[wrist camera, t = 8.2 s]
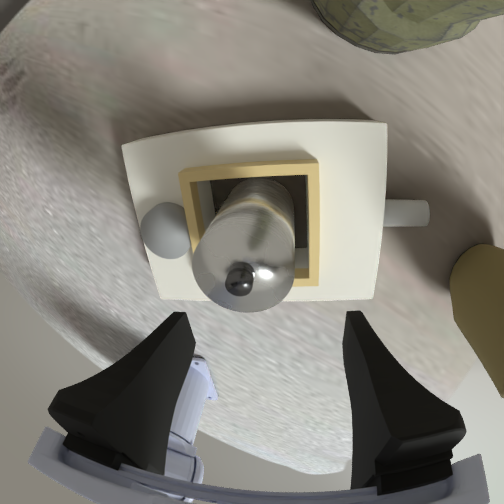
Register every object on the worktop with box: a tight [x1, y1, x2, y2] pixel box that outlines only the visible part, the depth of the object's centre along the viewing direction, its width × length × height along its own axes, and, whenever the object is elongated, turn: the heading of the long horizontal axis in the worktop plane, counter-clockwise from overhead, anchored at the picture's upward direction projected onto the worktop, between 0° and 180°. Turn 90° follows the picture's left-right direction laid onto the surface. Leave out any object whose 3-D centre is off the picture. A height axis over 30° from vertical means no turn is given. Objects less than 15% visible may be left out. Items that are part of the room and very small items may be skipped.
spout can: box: [192, 177, 295, 312], centre depth 16 cm, size 5×5×9 cm
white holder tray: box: [121, 119, 430, 301], centre depth 18 cm, size 20×12×4 cm, turn 95°
